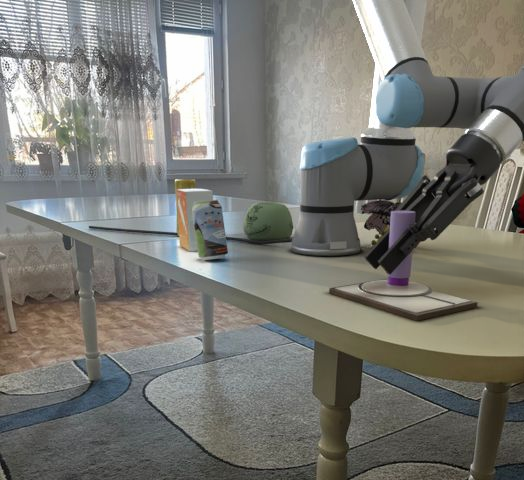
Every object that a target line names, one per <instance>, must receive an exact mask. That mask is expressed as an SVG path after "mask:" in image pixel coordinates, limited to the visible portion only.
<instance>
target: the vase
mask: <svg viewBox="0 0 524 480" xmlns="http://www.w3.org/2000/svg"><path fill="white" fill-rule="evenodd" d="M196 187H197V186H196V179H193V178H192V179H191V178H190V179H186V178H184V179H183V178H182V179H175V180H174V192H175V206H176V233H178V235H177V236H176V237H179V221H178V203H177V189H197V188H196Z"/></svg>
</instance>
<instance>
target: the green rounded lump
mask: <svg viewBox="0 0 524 480" xmlns="http://www.w3.org/2000/svg"><path fill="white" fill-rule="evenodd" d="M293 230H294V223H293V217H292V214H291V212H290V210H289V208H288V206H286V205H285V204H283V203H281V202H256V203H254V204H251V205H250V206H249V208H248V210H247V211H246V213H245V216H244V219H243V233H244V236H245V237H246V238H247V239H250V240H257V241H271V240H280V239H290V237H291V236H292V235H293Z"/></svg>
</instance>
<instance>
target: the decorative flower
mask: <svg viewBox="0 0 524 480" xmlns="http://www.w3.org/2000/svg"><path fill="white" fill-rule="evenodd" d="M401 203H402V202H401V201H397V202H393V201H392V200H371V201H369V202H366V203H364V204H362V205H360V207H361V208H360V211H361V215H365V214H368V215H369V214H370V215H369V217H368V218H367V219H366V220H365V222H364V224H363V228H364V229H365V230H367V231H371V230H375V231H376V232H378V234H377V233H376V234H375V235H374V238H375V239H376V240H375V239H372V240H371V245H372V248H373V246H374V245H375V244H376V243H377V242H378V241H379V240H380V239H381V238H382V236H383V235H384V234H385V233H386V232H387V231H388V230H389V229H390V223H389V222H388V219H389V217H390V216H391V211H395V210H396V209H397V208H398V207H399V206H400V205H401ZM372 248H371V249H372Z"/></svg>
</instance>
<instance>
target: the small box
mask: <svg viewBox="0 0 524 480" xmlns="http://www.w3.org/2000/svg"><path fill="white" fill-rule="evenodd" d="M206 200H214V191H213V190H212V189H211V190H210V189H207V188H196V189H177V203H178V221H179V236H178V238H179V246H180V247H182V248H183V249H185V250H187V251H188V252H198V248H197V242H196V235H195V228H194V222H193V215H192V208H193V206H194V202H199V201H206Z"/></svg>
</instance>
